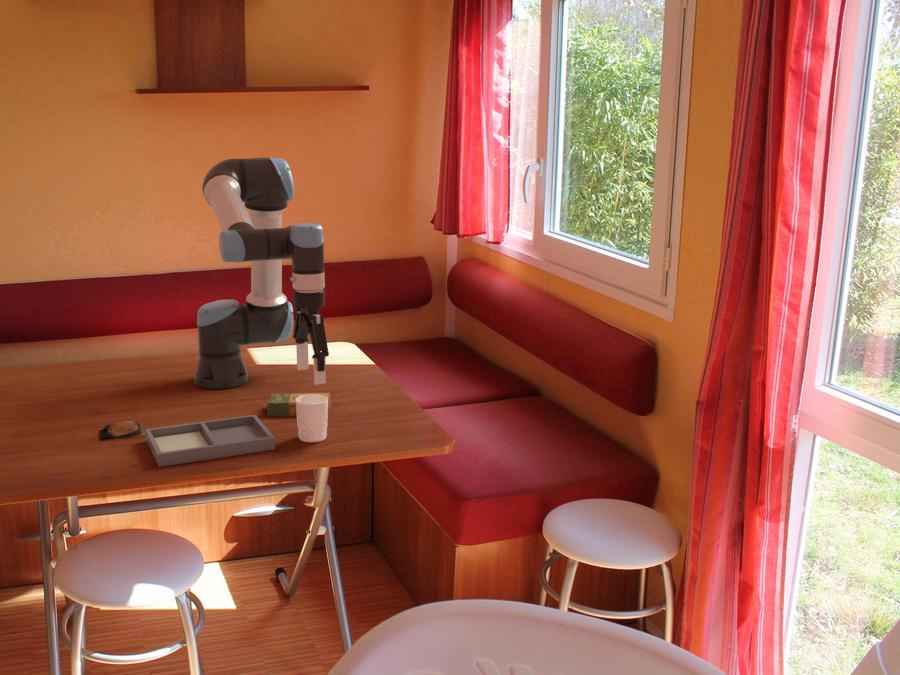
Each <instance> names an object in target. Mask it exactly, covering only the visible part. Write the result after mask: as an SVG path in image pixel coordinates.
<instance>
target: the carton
mask: <svg viewBox="0 0 900 675" xmlns="http://www.w3.org/2000/svg"><path fill="white" fill-rule="evenodd" d="M308 394H319V395H324V396H326V397H327V398H328V416H329V415H330V412H331V406H332V400H331V399H332V397H331V395H332V394H331V392H293V393H292V392H291V393H289V392H287V393H286V392H285V393H284V392H283V393H270V396H269V398H268V401H267V405H266V409H267V411H266V412H267V416H268V417H297V416H296V402H295V399H296V398H297V397H299V396H302V395H308Z"/></svg>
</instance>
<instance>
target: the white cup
mask: <svg viewBox="0 0 900 675" xmlns="http://www.w3.org/2000/svg"><path fill="white" fill-rule="evenodd" d="M295 402H296V416H295V417H296V423H297V424H296V425H297V429H298V430H297V431H298V432H297V433H298V439H299V440H300V441H301V442H305V443H318V442H322V441H325V440H326V438H327V436H328V432H327V431H328V420H329V418H328V398H327V397H326V396H324V395H319V394H308V395H302V396H299V397H297V398H296V399H295Z"/></svg>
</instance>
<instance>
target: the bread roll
mask: <svg viewBox="0 0 900 675" xmlns="http://www.w3.org/2000/svg"><path fill="white" fill-rule="evenodd" d="M141 436H142V437H143V436H146V435H145V430H144V429H143V427H142V425H141V424H140V423H138V422H136V421H132V420H123V421H115V422H113V423H112V424H106V425H105V426H104V427H103V428H102V429H100V430H98V437H99V438H98V439H99V440H100V441H114V440H115V441H117V440H122V439H124V440H125V439H129V438H131V439H133V438H137V437H141Z"/></svg>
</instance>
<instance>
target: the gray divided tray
mask: <svg viewBox="0 0 900 675" xmlns="http://www.w3.org/2000/svg"><path fill="white" fill-rule="evenodd" d="M144 432H145V435H144V436H145V442H146V444H147V446H148V448H149V451H150V453H151V455H152V456H153V459H154V462H155V463H156V465H157V466H158V468H160V467H168V466H173V465H179V464H180V465H181V464H188V463H194V462H201V461H208V460H213V459H220V458H227V457H233V456H240V455H246V454H254V453H261V452H267V451H273V450H274V451H275V450H276V437H275V435H274V434H273V433H272V432H271V431H270V430H269V428H268V427H267V426H266V425H265V424H264V422H263V421H261V419H260V418H259V417H258V415H257V414H251V415H250V414H249V415H242V416H237V417H227V418H219V419H213V420H206V421H197V422H190V423H184V424H183V423H182V424H176V425H170V426H162V427H154V428H153V427H152V428H146V429H145V430H144Z"/></svg>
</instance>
